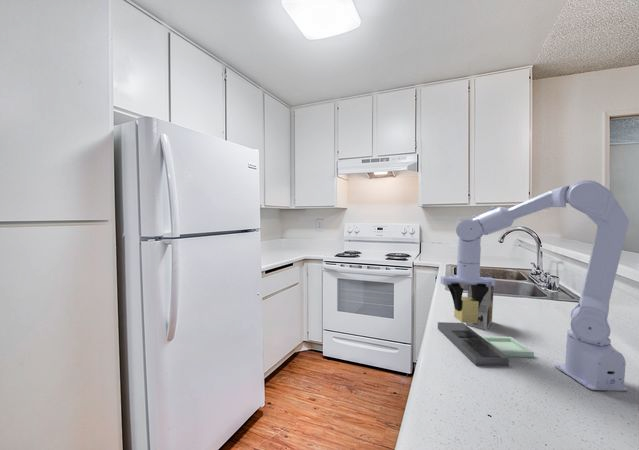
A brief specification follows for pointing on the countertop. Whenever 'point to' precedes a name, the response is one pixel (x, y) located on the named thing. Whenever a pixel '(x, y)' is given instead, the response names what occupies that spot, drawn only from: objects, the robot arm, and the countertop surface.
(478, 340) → the grey flat long piece
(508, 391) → the countertop surface
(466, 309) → the brass cube
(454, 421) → the countertop surface
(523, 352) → the tray
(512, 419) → the countertop surface
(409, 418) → the countertop surface
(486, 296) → the coffee box
